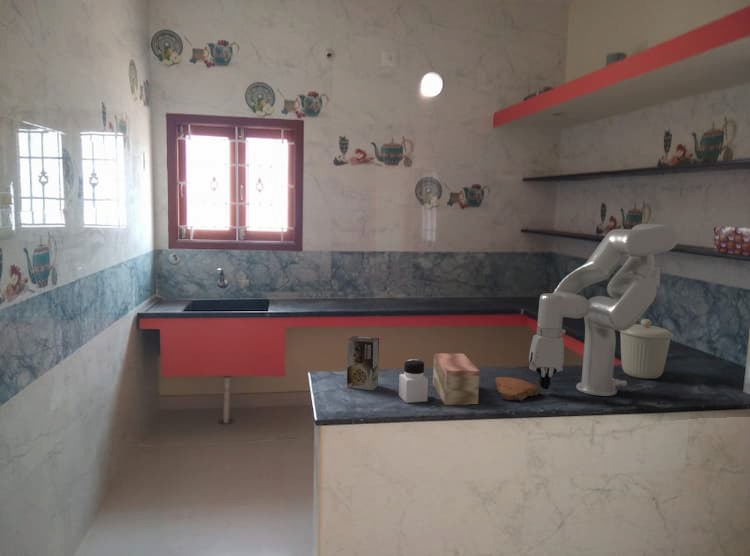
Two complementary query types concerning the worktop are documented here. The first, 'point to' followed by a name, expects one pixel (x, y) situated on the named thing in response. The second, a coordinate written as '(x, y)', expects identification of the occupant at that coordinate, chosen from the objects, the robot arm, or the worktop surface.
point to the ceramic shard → (515, 388)
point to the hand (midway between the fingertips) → (544, 387)
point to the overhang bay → (455, 379)
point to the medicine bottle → (413, 382)
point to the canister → (644, 350)
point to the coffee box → (362, 362)
